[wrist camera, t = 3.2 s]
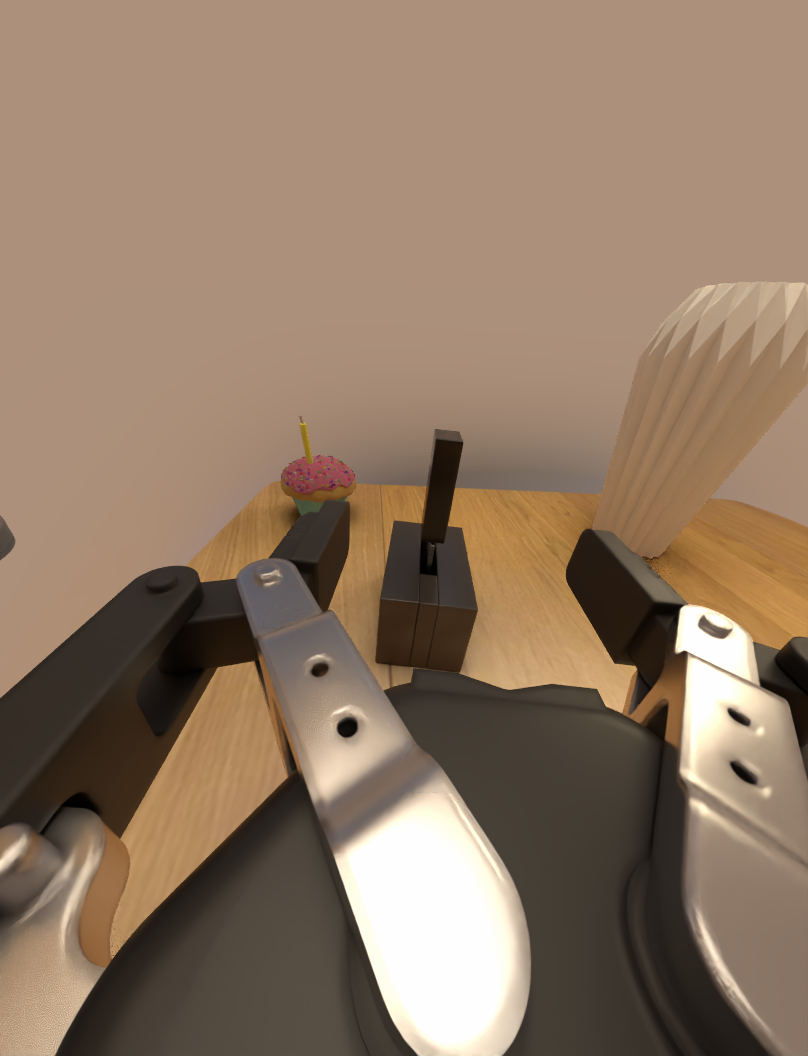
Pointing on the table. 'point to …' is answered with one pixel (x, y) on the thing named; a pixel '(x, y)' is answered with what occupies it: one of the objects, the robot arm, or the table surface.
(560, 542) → the table surface
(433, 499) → the knife
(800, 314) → the vase
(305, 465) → the cupcake
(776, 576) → the table surface
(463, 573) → the knife block
